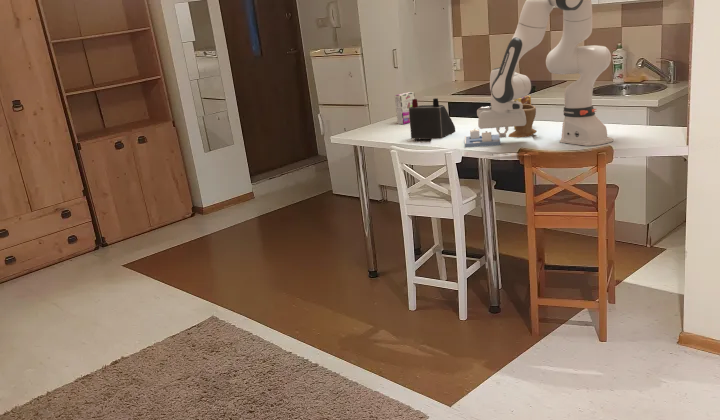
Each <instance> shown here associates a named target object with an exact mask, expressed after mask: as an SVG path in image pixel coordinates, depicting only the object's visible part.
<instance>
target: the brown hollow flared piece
mask: <svg viewBox="0 0 720 420" xmlns="http://www.w3.org/2000/svg"><path fill="white" fill-rule="evenodd" d="M522 109H523V110H524V112H525V116H526V125H525V126H515V127H516V130H514V131H512V132H511V133H509V134H508V135H507V136H508V137H509V138H527V137H529V136H533V135H535V134H536V133H537V130H536V129H534V128H533V124H534V121H535V118H536V114H537V108H536V106H535V105H532V104H531V105H530V104H523V108H522Z"/></svg>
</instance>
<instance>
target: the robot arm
mask: <svg viewBox="0 0 720 420" xmlns="http://www.w3.org/2000/svg"><path fill="white" fill-rule="evenodd" d="M554 8H557V9H559V10H561V11H562V16H563V17H562V21H563V22H562V23H563V25H562V26H563V27H562V35H561V38H560V41H559V42H558V44H557V45H556V46H555V47H554V48H552V49H550V51H549V52H548V54H547V55H546V58H545V65H546V66H545V67H546V69H547V70H548V72H549V73H551V74H555V75H575V74H578V75H580V76H579V78H578V79H577V80H575V81H573V82H571V83H570V84H568V85H567V86H566V87H565V89H564V107H563V116H564V119H563V122H562V129H561V137H560V140H559V143H562V144H563V143H564V144H570V145H579V146H586V147H590V146H598V145H604V144H605V145H606V144H608V143H611V142H614V138H613V137H610V136H608V130H607V126H606V125H605V124H604V123H603V122H602V121H601V120H600V119H599V118H598V117H597V116H596V112H597V108H594V105H593V90H594V86H595V83H596V81H597V79H598V77H599V76H600V75H601V74H602V73H603V72H604V71H606V70H607V69H608V67H610V64H611V61H612V54H611V52H610V49H609V48H608V47H606V46H605V45H596V44H594V45H584V46H583V45H582V46H580V45H579V44H581V43H582V42H584V41H586V40H587V39H588V38H589V37H590V36H591V35H592V32H593V3H592V0H525V1H524V4H523V6H522V9H521V11H520V15H519V18H518V23H517V25H516V29H515V32H514V34H513V36H512V38H511V40H510V41H509V43H508V45H507V47H506V49H505V53H504V55H503V57H502V58H503V59H502V61H501V64H500V67H496V68H493V69H492V70H491V71H490V74H489V75H490V76H489V89H490V90H489V91H490V94H491V95H490V105H489V106H488V105H487V106H480V107H479V108H478V109H477V110H476V116H477V117H478V118H477V119H478V120H477V121H478V125H477V126H478V128H479V130H480V129H481V130H482V129H496V132H497V133H498V134H499V138H501V139H502V138H507V133H508V131H509V128H510V127H513V128H514V126H525V125H526V116H525V112H524V110H523V109H522V108H523V104H522V103H521V102H517V101H514V100H515V99H518V98H522V97H525V96H529V95H530V93H531V90H532V81H531V78H529V77H528V75H525V74H521V73H518V72H516V71H517V67H518V64H519V62H520V60H521V58H523V56H524V55H525V54H526V53H528V52H529V51H531V50H532V49H534V48H536V47H537V46H539V44H541V42H542V41H543V40H544V37H545V35H546V31H547V27H548V22H549V16H550V14H551V13H552V11H553V9H554ZM578 45H579V46H578ZM501 128H504V129H505V130H504V132H501V131H500V129H501Z"/></svg>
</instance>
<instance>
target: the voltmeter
mask: <svg viewBox="0 0 720 420" xmlns="http://www.w3.org/2000/svg"><path fill="white" fill-rule="evenodd" d="M432 101H433V102H432V105H430V104H427V105H419V104H418V99H417V98H415V99H412V107H410V108H409V117H410V123H409V126H410V127H409V129H410V139H412V140H413V139H414V141H415V142H419V141H420V139H423V140H424V139H425V140H426V139H427V140H429V139H430V140H432V139H434V140H436V139H438V140H439V139H441V140H442V139H444V138H447V137H448V136H450V135H451V136H452V135H453V134H455V133H456V126H455V124H454V122H453V120H452V118H451V116H450V114H449V112H448V109H447V108H446V106H445V105H444V104H443V105H442V104H440V103H439V99H438V97H437V98H433V99H432Z"/></svg>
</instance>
